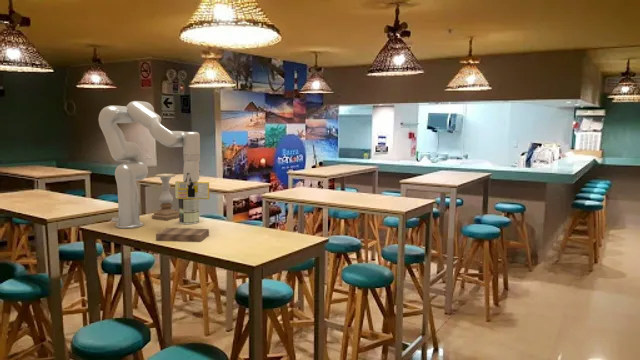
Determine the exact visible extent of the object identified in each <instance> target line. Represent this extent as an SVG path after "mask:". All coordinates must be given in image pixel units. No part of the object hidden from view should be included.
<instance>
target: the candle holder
mask: <svg viewBox="0 0 640 360" xmlns="http://www.w3.org/2000/svg"><path fill="white" fill-rule="evenodd" d="M175 176H176V173H157V174H155V177H156V178H159V180H160V181H161V182H162V183H161V185H160V188H161V189H162V192H161V194H160V196H159V198H158V201H159V202H160V203H161V204H160V209H158V211H155V212H153V215H151V218H152V219H153V220H160V221H167V222H168V221H172V220H176V219H179V210H175V209H173V208H172V207H173V204H172V202H173V200H174V197H173V195H172V193H171V192H170V189H171V184H170V180H171V179H172V178H173V177H175Z"/></svg>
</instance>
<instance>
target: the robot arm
mask: <svg viewBox="0 0 640 360" xmlns="http://www.w3.org/2000/svg"><path fill="white" fill-rule="evenodd" d="M161 122H162V117H161V116H160V115H159V114H158V113H156V112H155V108H154V106H153V105H152V104H151V103H150V102H148V101H142V100H141V101H140V100H133V101H130V102H129V103H128V104H127V105H123V106H122V105H108V106H104V107H103V108H102V109H101V110H100V112H99V115H98V124H99V128H100V129H101V131H102V134H103V136H104V138H105V142H106V144H107V147H108V150H109V153H110V156H111V157H112V159H113V160H114V161H115V162H124V163H121V164H119V165H118V166H116V168H115V171H114V177H115V181H116V187H117V202H118V203H117V205H118V207H117V208H118V217H112V218H111V223H116V224H115V227H116V228H118V229H136V228H140V227H142V226H143V225H144V222H143V221H140V195H139V193H140V192H139V187H138V184H137V182H139V181H142V180H145V178H147V176H148V173H149V168H148V165H147V162H146V160H145V156H144V154H143V151H142V149H141V147H140V146H139V145H138V144H137V143H136V142H133V141H127V140H126V137H125V134H124V132H123V131H122V129H121V128H120V127H119V125H118V124H133V123H139V124H140V125H141V126H143V127H144V128H145V129H147V130H148V132H149V134H150V135H151V137H152V138H153V139H154V140H155V141H157V142H158V143H160V144H161V145H163V146H165V147H167V148H182V147H183V174H182V175H183V178H182V182H187V183H186V184H187V186H188V197H195V189H194V182H199V180H200V162H201V139H200V137H201V136H200V133H199V132H198V131H184V130H183V131H182V130H170V129H168V128H166V127H165V126H164V125H162V123H161Z"/></svg>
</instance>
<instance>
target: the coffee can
mask: <svg viewBox="0 0 640 360" xmlns="http://www.w3.org/2000/svg"><path fill="white" fill-rule="evenodd" d="M178 212H179V218H178V219H179V222H178V223H179V224H180V225H195V224H198V223H200V199H178Z"/></svg>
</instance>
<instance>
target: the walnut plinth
mask: <svg viewBox="0 0 640 360" xmlns="http://www.w3.org/2000/svg"><path fill="white" fill-rule="evenodd" d="M209 236H210V229H209V228H187V227H184V228H183V227H182V228H181V227H180V228H179V227H165V228H164V229H162V230H161V231H158V232H156V233H155V241H157V242H158V241H160V242H162V241H163V242H190V243H191V242H192V243H193V242H194V243H195V242H196V243H201V242H202V241H203V240H205V239H206V238H208V237H209Z"/></svg>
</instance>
